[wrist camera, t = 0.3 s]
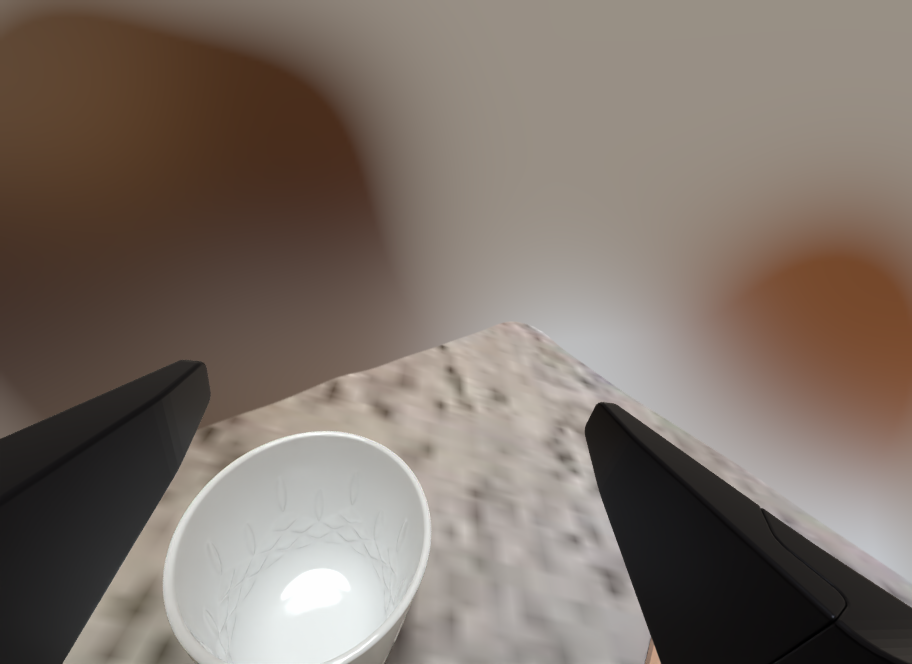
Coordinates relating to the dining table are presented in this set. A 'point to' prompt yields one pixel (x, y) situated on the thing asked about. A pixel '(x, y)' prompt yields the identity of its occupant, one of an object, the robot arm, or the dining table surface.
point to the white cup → (299, 555)
